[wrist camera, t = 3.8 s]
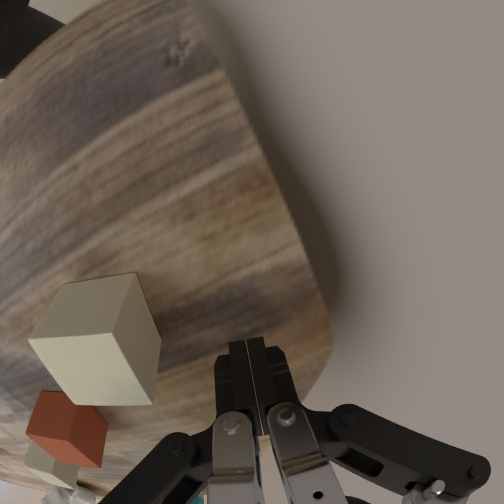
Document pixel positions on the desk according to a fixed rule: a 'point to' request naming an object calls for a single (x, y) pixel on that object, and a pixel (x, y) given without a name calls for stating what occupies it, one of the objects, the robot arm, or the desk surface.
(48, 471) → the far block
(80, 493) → the elephant figurine
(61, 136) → the desk surface
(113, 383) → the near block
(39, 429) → the block
